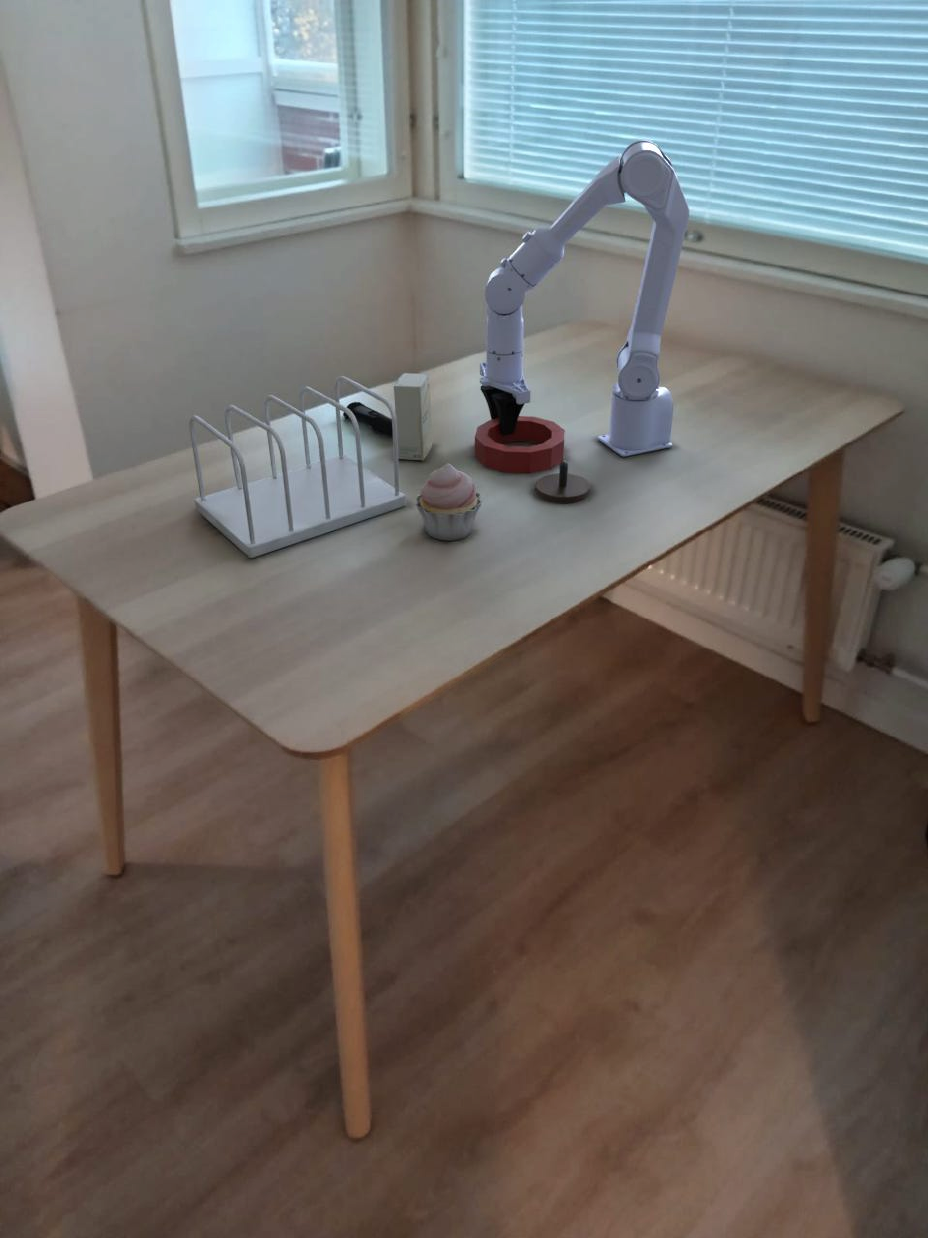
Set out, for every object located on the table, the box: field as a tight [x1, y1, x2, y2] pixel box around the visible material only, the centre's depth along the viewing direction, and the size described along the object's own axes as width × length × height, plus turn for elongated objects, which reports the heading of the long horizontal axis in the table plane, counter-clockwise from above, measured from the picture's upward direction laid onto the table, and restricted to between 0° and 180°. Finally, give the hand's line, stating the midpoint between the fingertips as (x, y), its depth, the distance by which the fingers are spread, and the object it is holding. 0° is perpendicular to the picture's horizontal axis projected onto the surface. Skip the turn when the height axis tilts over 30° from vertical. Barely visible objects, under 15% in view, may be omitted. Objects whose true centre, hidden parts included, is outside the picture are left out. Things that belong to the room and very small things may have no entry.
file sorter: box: [188, 375, 407, 559], centre depth 133 cm, size 25×17×16 cm
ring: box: [474, 415, 566, 475], centre depth 151 cm, size 14×14×4 cm
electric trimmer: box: [342, 401, 393, 438], centre depth 160 cm, size 4×16×3 cm, turn 42°
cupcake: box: [414, 462, 483, 542], centre depth 129 cm, size 9×9×10 cm
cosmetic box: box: [393, 372, 433, 461], centre depth 150 cm, size 6×4×12 cm
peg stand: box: [535, 460, 591, 504], centre depth 140 cm, size 8×8×5 cm
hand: (503, 430), depth 156 cm, fingers closed
